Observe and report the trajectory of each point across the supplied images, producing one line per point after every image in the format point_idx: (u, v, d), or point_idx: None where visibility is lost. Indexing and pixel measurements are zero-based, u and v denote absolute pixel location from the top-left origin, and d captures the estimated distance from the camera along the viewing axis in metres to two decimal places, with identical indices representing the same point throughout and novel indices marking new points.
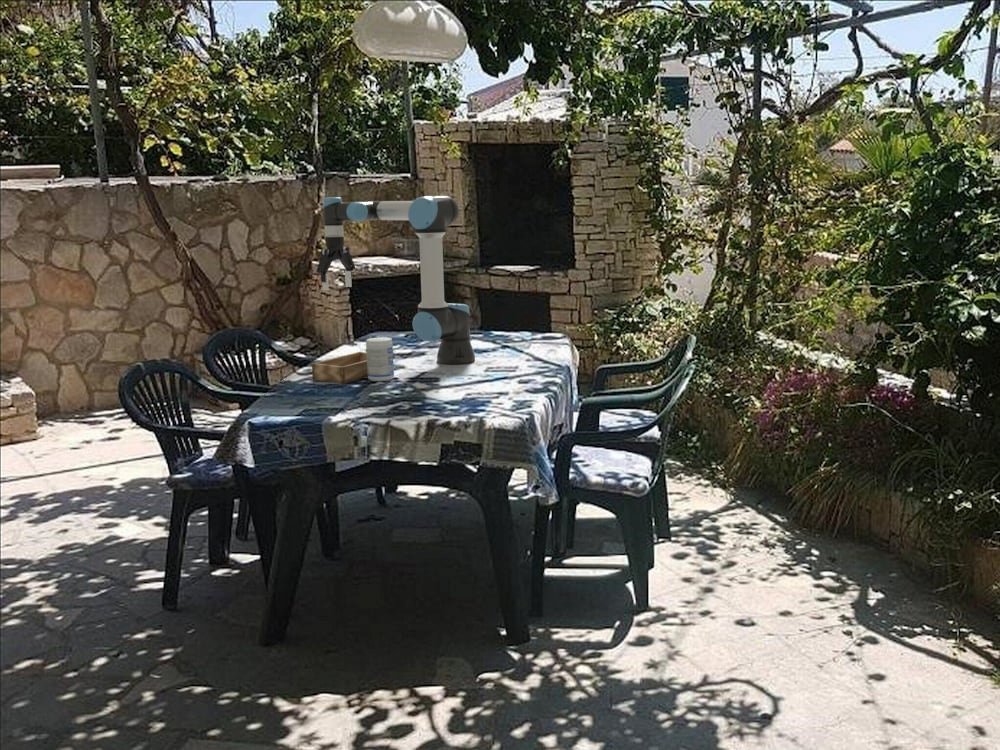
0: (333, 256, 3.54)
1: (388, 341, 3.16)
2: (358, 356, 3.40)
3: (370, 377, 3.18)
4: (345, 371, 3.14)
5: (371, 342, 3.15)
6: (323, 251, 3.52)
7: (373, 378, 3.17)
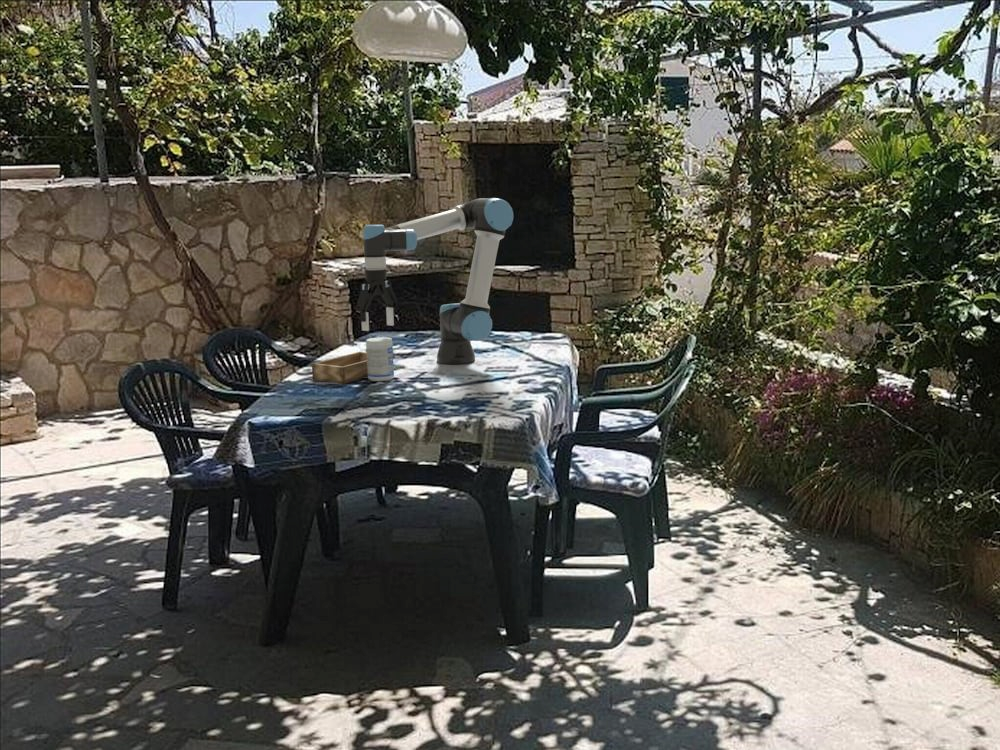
0: (374, 292, 3.11)
1: (388, 341, 3.16)
2: (358, 356, 3.40)
3: (370, 377, 3.18)
4: (345, 371, 3.14)
5: (371, 342, 3.15)
6: (363, 286, 3.09)
7: (373, 378, 3.17)
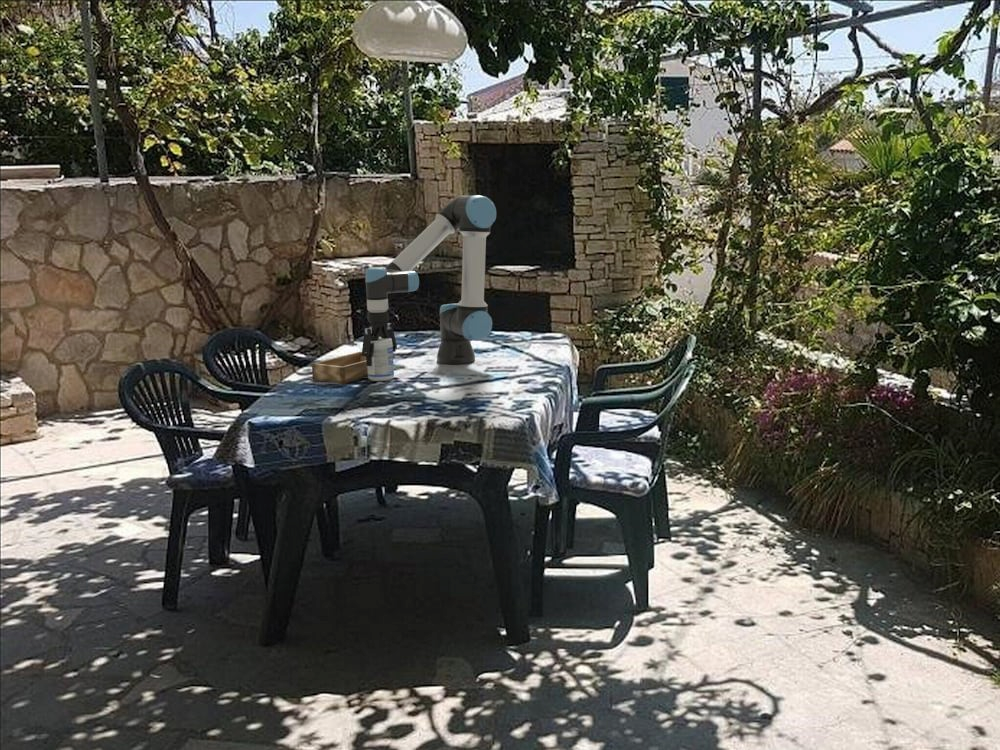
0: (377, 334, 3.15)
1: (388, 341, 3.16)
2: (358, 356, 3.40)
3: (370, 377, 3.18)
4: (345, 371, 3.14)
5: (371, 342, 3.15)
6: (366, 331, 3.12)
7: (373, 378, 3.17)
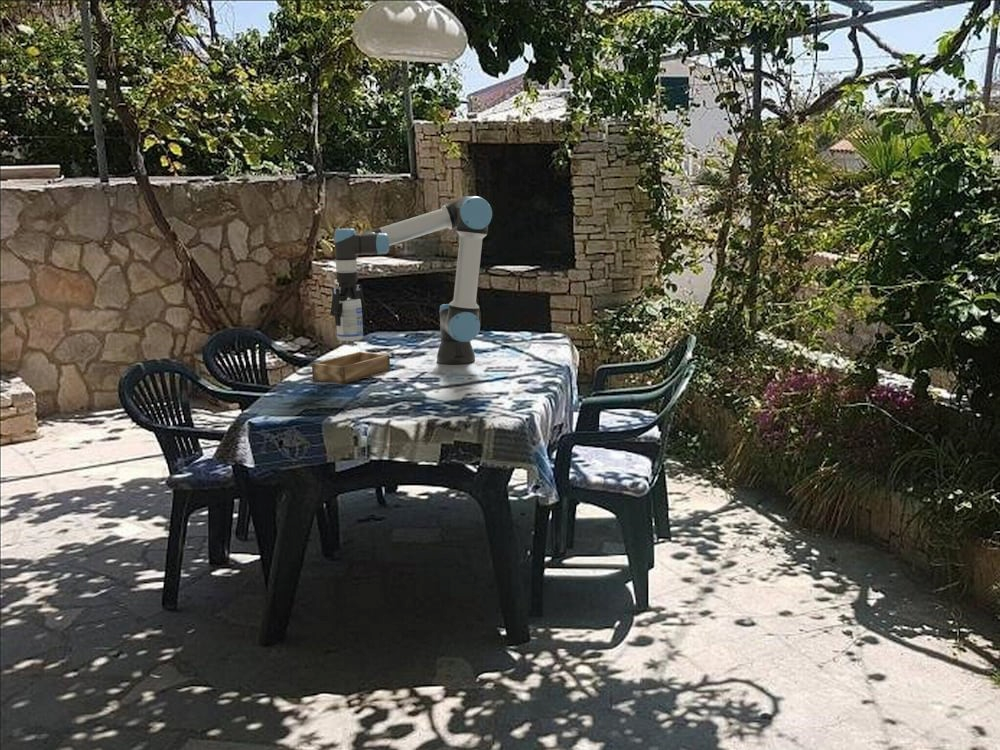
0: (346, 295, 3.19)
1: (357, 301, 3.20)
2: (358, 356, 3.40)
3: (339, 337, 3.22)
4: (345, 371, 3.14)
5: (340, 302, 3.19)
6: (334, 291, 3.16)
7: (342, 338, 3.21)
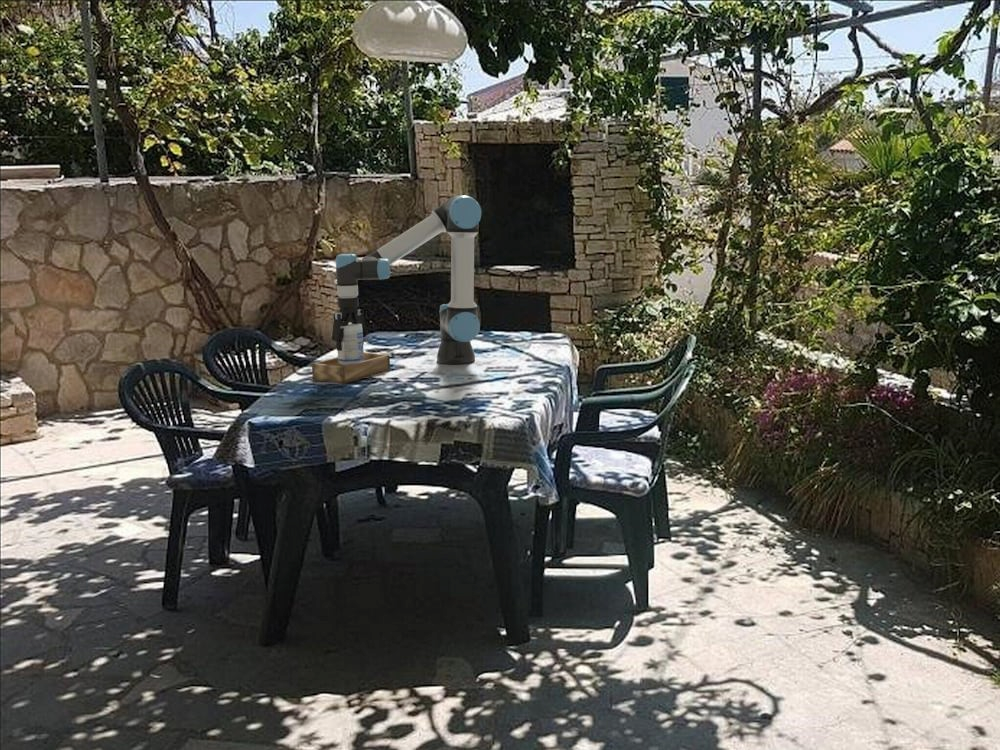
0: (347, 320, 3.21)
1: (358, 326, 3.22)
2: None
3: (340, 362, 3.24)
4: (345, 371, 3.14)
5: (341, 327, 3.21)
6: (336, 316, 3.18)
7: (343, 362, 3.23)
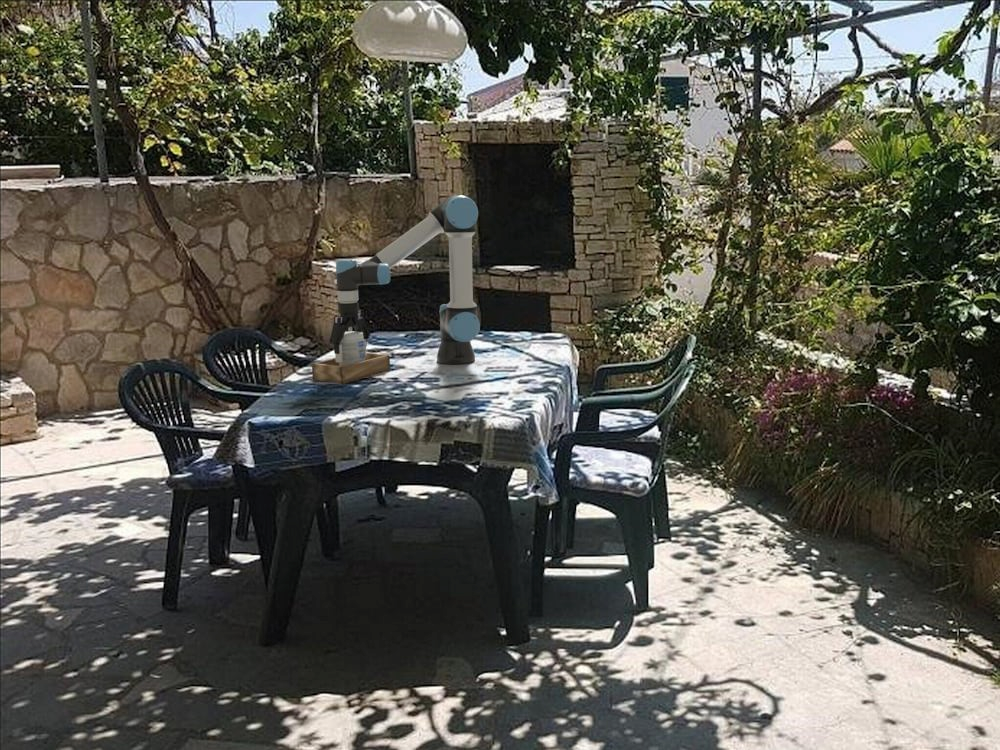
0: (347, 324, 3.21)
1: (359, 335, 3.23)
2: None
3: None
4: (345, 371, 3.14)
5: None
6: (336, 320, 3.18)
7: None
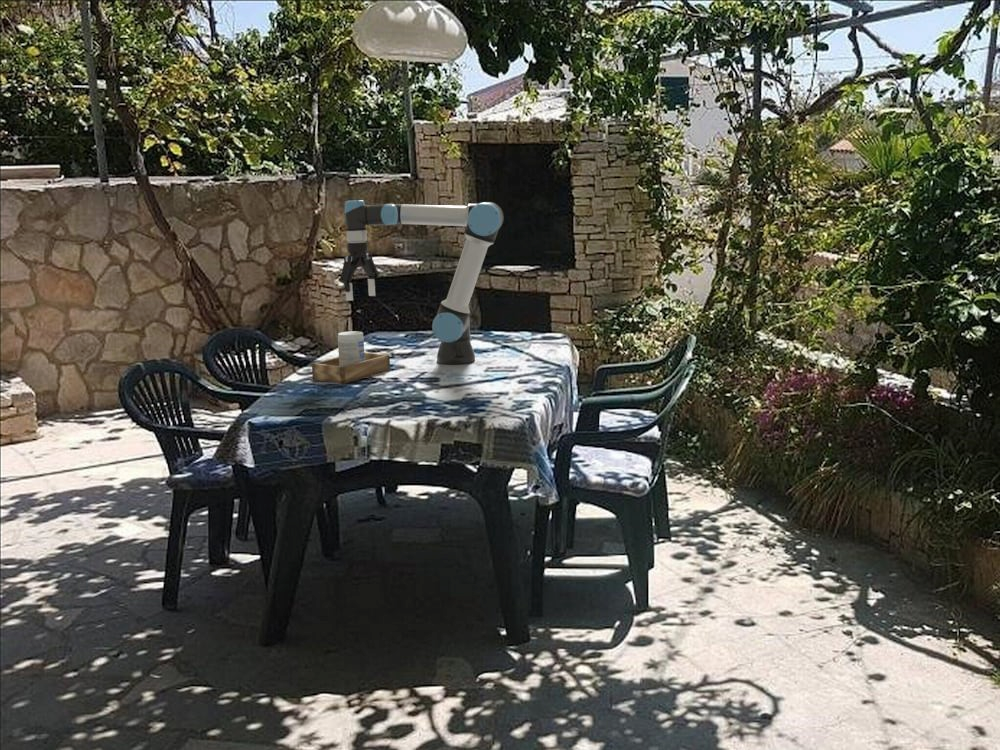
0: (357, 263, 3.30)
1: (359, 335, 3.23)
2: None
3: None
4: (345, 371, 3.14)
5: (342, 336, 3.22)
6: (346, 258, 3.27)
7: None
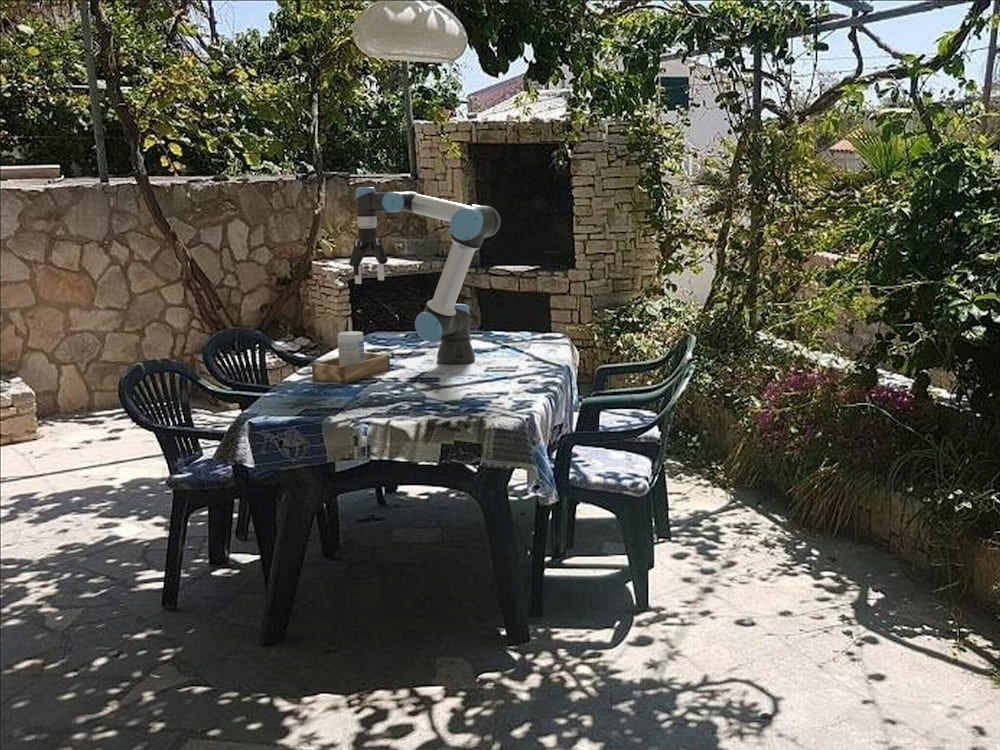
0: (366, 248, 3.42)
1: (359, 335, 3.23)
2: None
3: None
4: (345, 371, 3.14)
5: (342, 336, 3.22)
6: (356, 243, 3.39)
7: None
